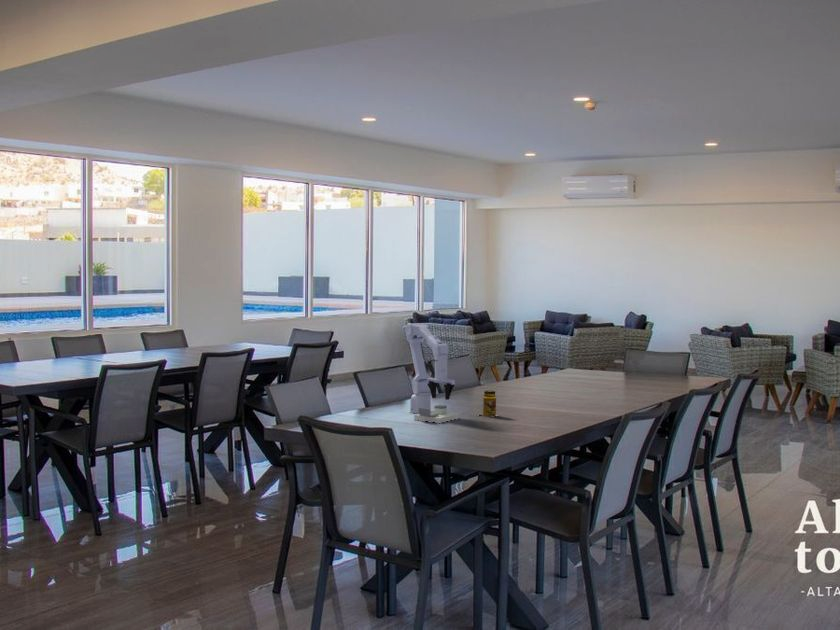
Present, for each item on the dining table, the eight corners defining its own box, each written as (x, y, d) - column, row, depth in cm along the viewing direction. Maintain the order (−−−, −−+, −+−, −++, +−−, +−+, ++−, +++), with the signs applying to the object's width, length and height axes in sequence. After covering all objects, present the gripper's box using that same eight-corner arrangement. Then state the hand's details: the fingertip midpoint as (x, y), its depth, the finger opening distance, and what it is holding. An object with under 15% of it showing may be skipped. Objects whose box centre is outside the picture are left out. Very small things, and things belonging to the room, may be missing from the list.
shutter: (418, 415, 383) (418, 407, 383) (427, 413, 389) (427, 405, 389) (429, 417, 379) (429, 409, 379) (438, 415, 385) (439, 407, 385)
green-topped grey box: (434, 418, 391) (434, 405, 391) (439, 417, 395) (439, 404, 394) (441, 419, 389) (441, 406, 389) (446, 418, 392) (446, 405, 392)
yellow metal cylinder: (492, 417, 396) (493, 392, 395) (476, 416, 400) (476, 391, 399) (499, 415, 402) (499, 390, 402) (483, 414, 406) (483, 389, 406)
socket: (414, 420, 387) (414, 414, 387) (434, 415, 400) (434, 410, 400) (439, 423, 379) (439, 418, 379) (458, 418, 392) (458, 413, 392)
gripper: (423, 369, 392) (422, 398, 392) (449, 371, 383) (448, 401, 384) (432, 367, 397) (431, 396, 398) (457, 370, 389) (457, 399, 390)
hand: (440, 398), depth 391 cm, fingers open, 7 cm apart
